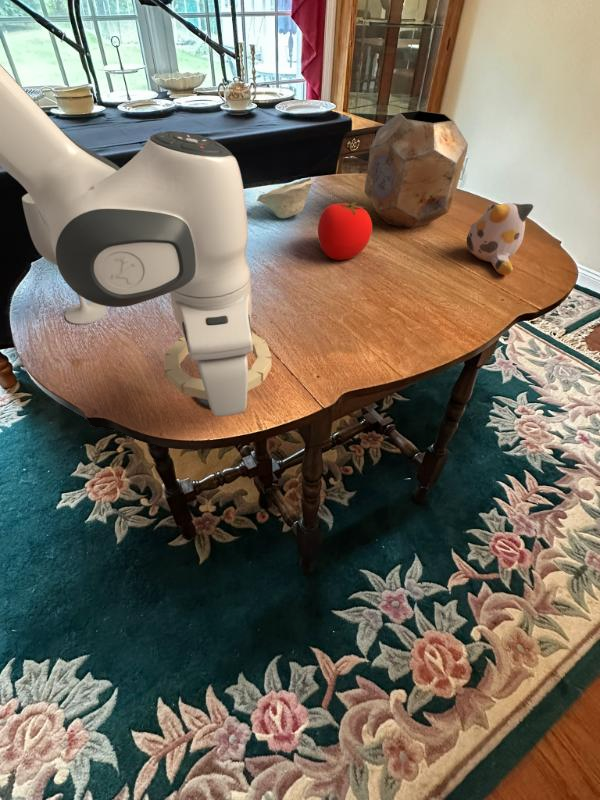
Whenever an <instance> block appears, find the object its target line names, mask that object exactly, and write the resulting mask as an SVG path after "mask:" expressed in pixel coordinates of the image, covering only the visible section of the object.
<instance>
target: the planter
mask: <svg viewBox="0 0 600 800" xmlns="http://www.w3.org/2000/svg"><path fill="white" fill-rule="evenodd" d="M468 147H469V145H468V141H467V140H466V139H465V137H464V135H463V134H462V132H461V130H460V129H459V127H458V125H457V124H456V122H455V120H454V119H452V118H451V117H449V116H448V115H447V114H445V113H439V112H431V111H424V110H410V111H402V112H398V113H397V114H395V115H394V116H393V117H392V118H390V119H389V120H388V121H387V122H386V123H384V124H383V125H382V126H380V127H379V128H378V129H377V132H376V134H375V136H374V139H373V141H372V143H371V145H370V148H369V154H368V160H367V161H368V162H367V170H366V176H365V177H366V178H365V184H364V193H365V195H366V197H367V198H368V200H369V201H370V202H371V205H372V206H373V208H374V210H375V211H376V212H377V214H378V215H379V216H380V217H381V219H383V221H384V222H385V224H389V225H393V226H397V227H403V228H407V229H414V228H418V227H421V226H425V225H429V224H431V223H432V222H434V221H435V220H437V219H439V218H441V217H442V216H444V215H446V214H447V213H449V212H450V209H451V206H452V204H453V200H454V198H455V195H456V192H457V188H458V185H459V182H460V179H461V174H462V170H463V167H464V164H465V160H466V157H467V153H468Z"/></svg>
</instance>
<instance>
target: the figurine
mask: <svg viewBox="0 0 600 800" xmlns="http://www.w3.org/2000/svg"><path fill="white" fill-rule="evenodd" d="M533 209H534V205H533V204H532V203H521V204H520V203H511V202H510V203H509V202H508V203H502V204H498V203H492V204H490V205H489V206H488V207H487V211H486V212H485V213H484V214H483V215H481V217H480V218H478V220H477V221H475V222H474V223H472V224H471V225H470V229H469V230H468V232H467V236H466V245H467V249H468V250H469V251H470V253H471V254H473V256H474V257H476V259H479V260H481V261H482V262H489V263H491V264H492V265H491V266H493V269H494V270H495V271H496V273H498V274H499V275H502V276H509V275H510V274H512V272H513V269H514V267H513V265H512V262H511V261H510V259H509V258H511V257H513V256H514V255H515V254H516V253H517V252H518V250H519V248H520V246H521V244H522V242H523V241H524V236H525V230H526V220H527V218H528V216H529V215H530V213H531V212H532V211H533Z"/></svg>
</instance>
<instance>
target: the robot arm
mask: <svg viewBox="0 0 600 800" xmlns="http://www.w3.org/2000/svg"><path fill="white" fill-rule="evenodd" d="M0 167H1V168H2V169H3V170H4V171H5V172H7V173H8V174H9V175H10V176H11V177H12V178H13V179H14V180H16V181H17V182H18V183H19V184H20V185H21V186H22V187H23V188H24V190H26V192H27V193H29V195H30V196H31V197H32V199H33V201H34V203H35V204H36V206H37V208H38V210H39V212H40V214H41V216H42V218H43V220H44V223H45V225H46V227H47V230H48V233H49V237H50V242H51V246H52V249H53V253H54V256H55V259H56V262H57V265H56V266H57V269H58V271H59V273H60V275H61V277H62V279H63V281H64V282H65V284H67V286H68V287H69V288H70V289H71V290H72V291H73V292H75V294H76V295H77V294H79V295H80V296H81V297H83V299H85V300H86V301H88V302H93V303H96V304H99V305H103V306H105V307H109V308H125V307H130V306H135V305H137V304H141V303H145V302H148V301H150V300H153V299H156V298H159V297H162V296H164V295H167V294H169V297H170V302H171V307H172V313H173V316H174V320H175V322H176V323H177V325H178V326H179V329H180V331H181V332H182V334H183V337H184V336H185V339H186V342H187V347H188V352H189V353H188V355H189V359H190V360H192V361H196V366H197V369H198V372H199V375H200V379H202V382H203V386H204V389H205V392H206V396H207V399H208V402H209V405H210V408H209V409H210V410H211V413H212V414H213V415H214V416H215V417H218V418H221V417H229V416H235V415H239V414H243V413H244V412H245V411H246V410H247V406H248V392H247V388H248V370H249V361H248V354H253V352H252V351H253V343H252V333H253V332H252V327H251V323H252V314H253V304H252V303H253V301H252V300H253V299H252V281H251V270H250V267H249V263H248V261H247V257H246V248H247V244H248V239H249V227H248V215H247V214H248V213H247V204H246V197H245V190H244V183H243V179H242V178H243V177H242V174H241V169H240V166H239V162H238V161H237V158H236V157H235V155H234V154H232V152H231V151H230V149H228V148H226V147H225V146H224V145H222V144H221V143H220V142H217V141H216V140H214V139H212V138H210V137H206V136H202V135H200V134H197V133H192V132H185V131H175V130H174V131H173V130H172V131H171V130H170V131H169V130H168V131H164V132H157V133H153V134H151V135H150V136H149V137H148V139H147V140H146V143H145V144H144V145H143V147H142V148H141V149H140V151H138V152H137V153H136V154H135V155H134V156H133V157H132V158H131V160H129V161H128V162H127V163H126V164H124V165H123V166H122V167H119V166H118V165H117V164H116V163H115V162H112V161H111V160H109V159H108V158H106V157H104V156H102V155H100V154H98V153H96V152H94V151H92V150H91V149H89V148H87V147H85V146H83V145H81V144H80V143H78V142H77V141H76V140H74V139H72V138H71V137H70V136H69V135H68V134H67V133H65V132H64V131H63V129H62V128H60V127H59V126H58V124H57V123H56V122H55V121H54V120H53V119H52V118H51V117H50V116H49V115H48V114H47V112H46V111H44V110H43V109H42V107H41V106H40V105H39V104H38V103H37V102H36V101H35V100H34V99H33V98H32V97H31V96H30V94H29V93H28V92H27V91H26V90H25V89H24V88H23V87H22V86H21V85H20V84H19V82H17V80H16V79H15V78H14V77H13V76H12V75H11V74H10V72H8V71H7V70H6V69H5V68H4V67H3V65H1V64H0Z"/></svg>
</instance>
